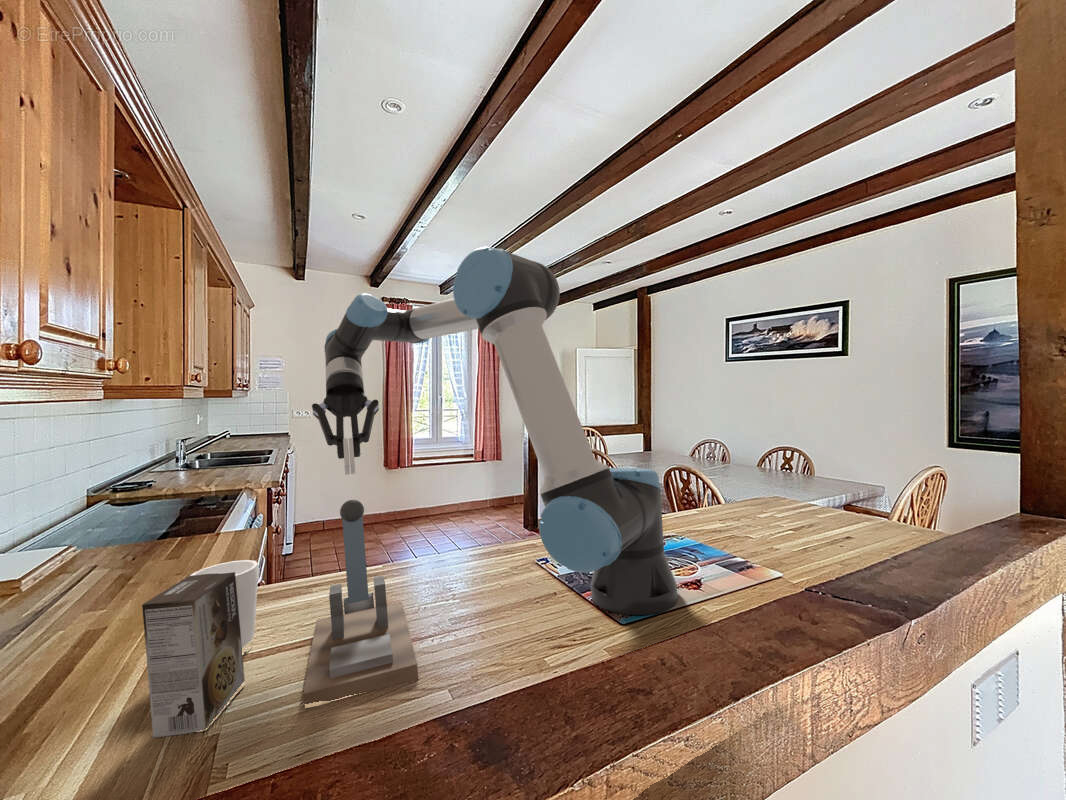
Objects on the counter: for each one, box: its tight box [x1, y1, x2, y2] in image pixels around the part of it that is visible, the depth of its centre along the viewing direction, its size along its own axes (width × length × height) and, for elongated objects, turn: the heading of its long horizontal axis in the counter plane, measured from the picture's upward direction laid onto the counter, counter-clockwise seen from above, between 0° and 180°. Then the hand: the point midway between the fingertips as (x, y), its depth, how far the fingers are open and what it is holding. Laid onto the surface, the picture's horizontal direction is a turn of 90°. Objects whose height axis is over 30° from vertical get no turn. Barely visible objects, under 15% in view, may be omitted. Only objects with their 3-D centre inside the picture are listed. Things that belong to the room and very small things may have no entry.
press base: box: [302, 575, 419, 705], centre depth 72 cm, size 22×14×9 cm, turn 21°
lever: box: [339, 499, 375, 614], centre depth 75 cm, size 4×4×18 cm
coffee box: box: [141, 572, 246, 738], centre depth 60 cm, size 9×6×16 cm
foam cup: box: [189, 559, 260, 647], centre depth 75 cm, size 10×9×13 cm
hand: (349, 469), depth 86 cm, fingers closed
